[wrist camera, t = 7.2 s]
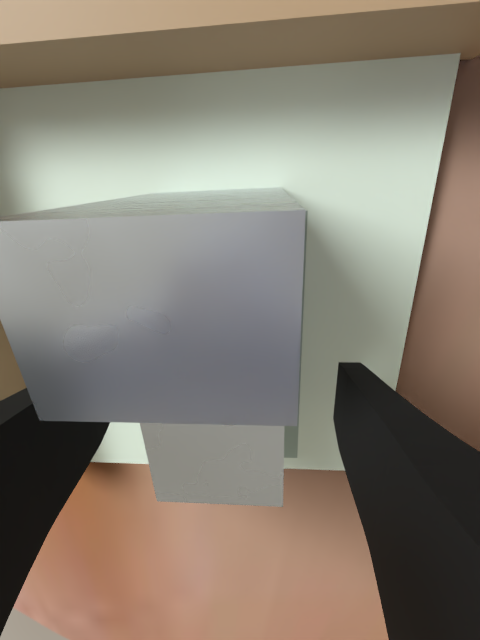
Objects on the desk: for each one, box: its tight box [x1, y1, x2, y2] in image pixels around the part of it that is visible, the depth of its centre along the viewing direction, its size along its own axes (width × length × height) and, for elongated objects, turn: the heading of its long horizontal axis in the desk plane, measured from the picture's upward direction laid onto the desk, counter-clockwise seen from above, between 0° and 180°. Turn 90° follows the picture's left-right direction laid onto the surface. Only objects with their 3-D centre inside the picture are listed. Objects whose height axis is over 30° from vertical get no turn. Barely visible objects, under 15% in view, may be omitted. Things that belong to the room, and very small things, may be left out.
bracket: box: [0, 187, 306, 507], centre depth 9 cm, size 9×4×7 cm, turn 2°
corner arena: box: [0, 0, 480, 471], centre depth 11 cm, size 17×16×4 cm
